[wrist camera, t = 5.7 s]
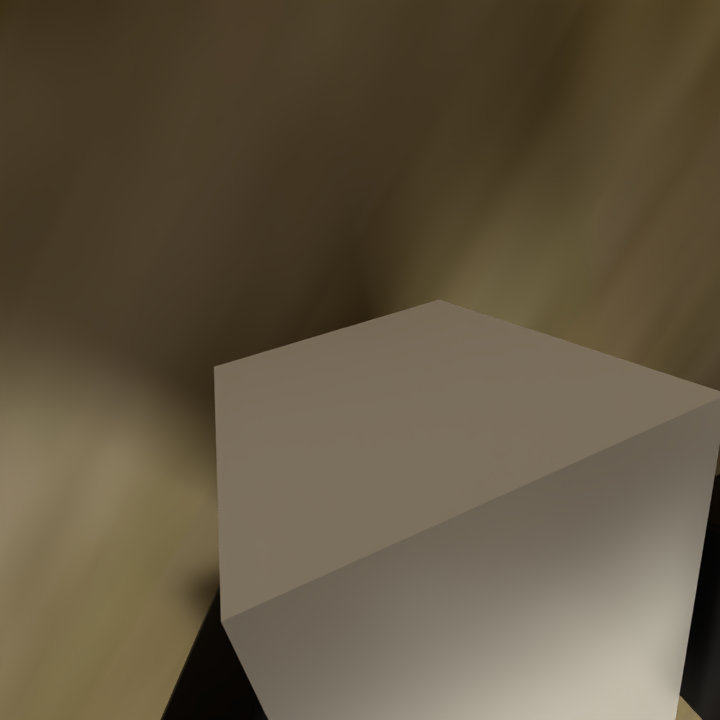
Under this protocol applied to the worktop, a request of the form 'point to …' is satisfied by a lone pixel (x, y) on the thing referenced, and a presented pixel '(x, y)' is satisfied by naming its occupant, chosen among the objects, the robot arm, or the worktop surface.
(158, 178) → the worktop surface
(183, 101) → the worktop surface
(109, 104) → the worktop surface
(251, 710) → the robot arm
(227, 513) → the white block
